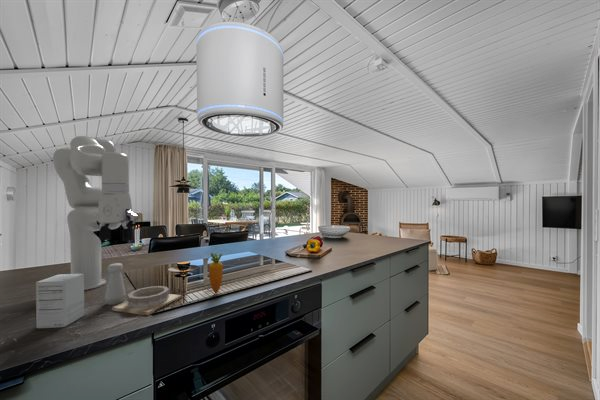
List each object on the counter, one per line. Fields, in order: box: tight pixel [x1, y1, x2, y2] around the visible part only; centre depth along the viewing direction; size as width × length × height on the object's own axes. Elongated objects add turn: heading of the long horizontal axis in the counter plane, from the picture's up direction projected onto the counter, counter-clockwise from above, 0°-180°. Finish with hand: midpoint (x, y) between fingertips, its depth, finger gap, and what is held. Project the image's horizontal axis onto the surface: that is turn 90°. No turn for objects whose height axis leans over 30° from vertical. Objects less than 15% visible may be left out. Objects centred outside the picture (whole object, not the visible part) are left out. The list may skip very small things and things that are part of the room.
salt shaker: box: [104, 262, 127, 306], centre depth 86 cm, size 6×6×13 cm
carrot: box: [208, 252, 224, 294], centre depth 93 cm, size 5×5×15 cm
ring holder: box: [111, 285, 183, 316], centre depth 84 cm, size 14×14×4 cm
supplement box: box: [35, 273, 85, 329], centre depth 72 cm, size 7×7×13 cm
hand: (116, 240), depth 86 cm, fingers open, 9 cm apart
